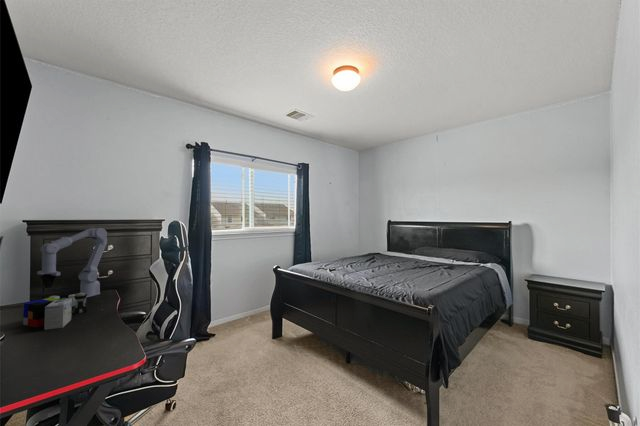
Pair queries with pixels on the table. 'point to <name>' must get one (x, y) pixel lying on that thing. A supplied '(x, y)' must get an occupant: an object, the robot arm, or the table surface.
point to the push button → (80, 303)
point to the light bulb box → (57, 314)
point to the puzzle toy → (36, 312)
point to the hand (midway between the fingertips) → (48, 287)
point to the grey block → (71, 297)
